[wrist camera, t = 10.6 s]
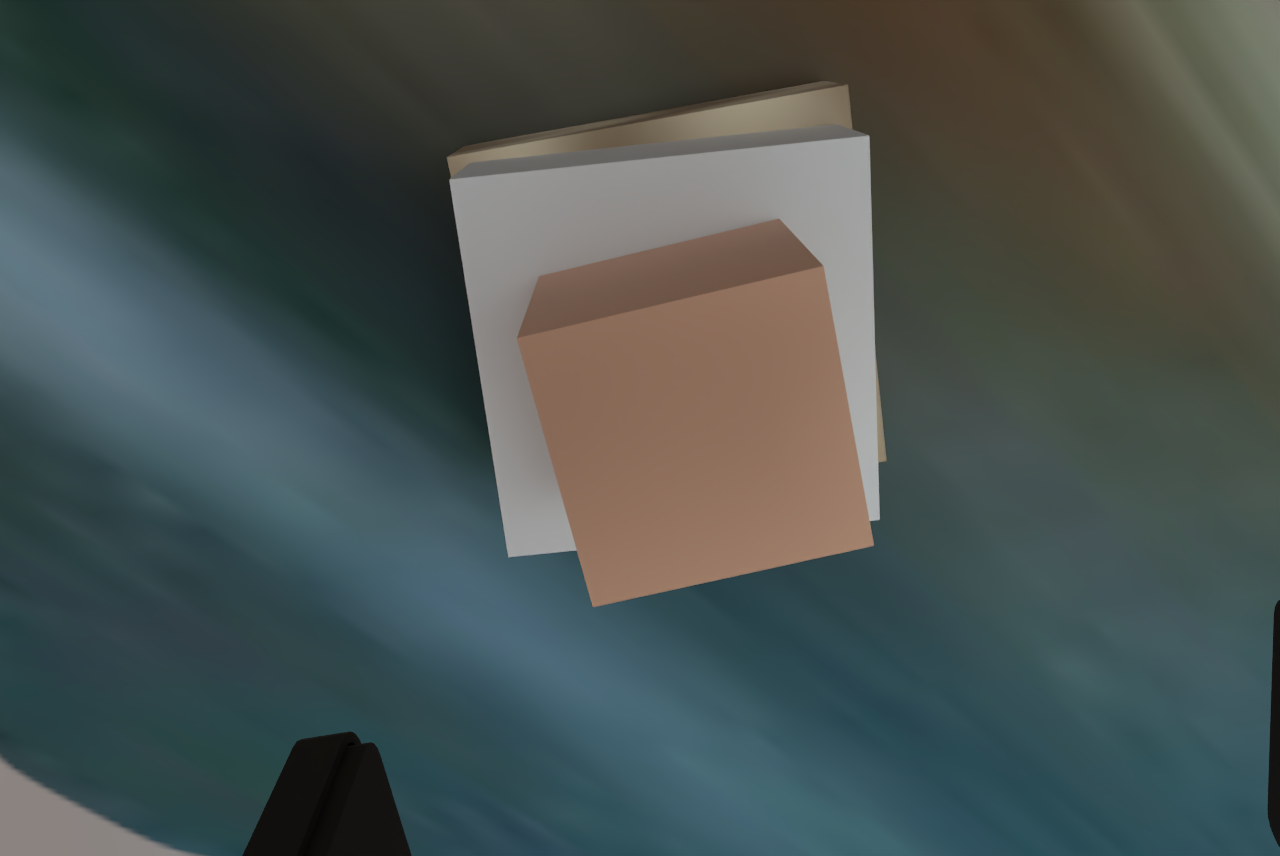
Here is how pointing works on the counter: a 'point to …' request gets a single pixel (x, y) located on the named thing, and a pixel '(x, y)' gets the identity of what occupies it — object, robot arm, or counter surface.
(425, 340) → the counter surface
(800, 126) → the maple base slab
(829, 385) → the terracotta cube
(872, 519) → the grey top slab
